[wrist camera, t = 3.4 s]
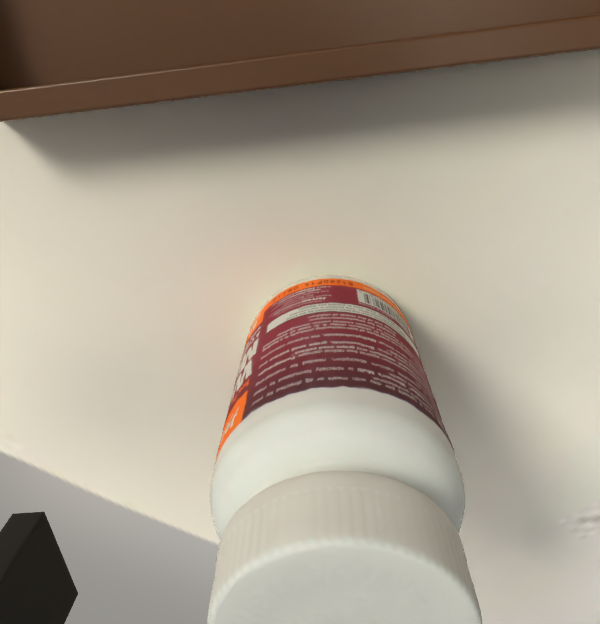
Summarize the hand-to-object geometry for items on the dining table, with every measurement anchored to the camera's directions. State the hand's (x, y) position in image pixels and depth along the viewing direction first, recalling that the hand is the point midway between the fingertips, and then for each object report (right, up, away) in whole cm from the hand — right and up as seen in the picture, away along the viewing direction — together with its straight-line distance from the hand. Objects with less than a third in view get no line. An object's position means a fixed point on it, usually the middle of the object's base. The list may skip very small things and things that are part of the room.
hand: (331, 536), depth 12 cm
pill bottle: (0, +4, +8) cm, 9 cm away
